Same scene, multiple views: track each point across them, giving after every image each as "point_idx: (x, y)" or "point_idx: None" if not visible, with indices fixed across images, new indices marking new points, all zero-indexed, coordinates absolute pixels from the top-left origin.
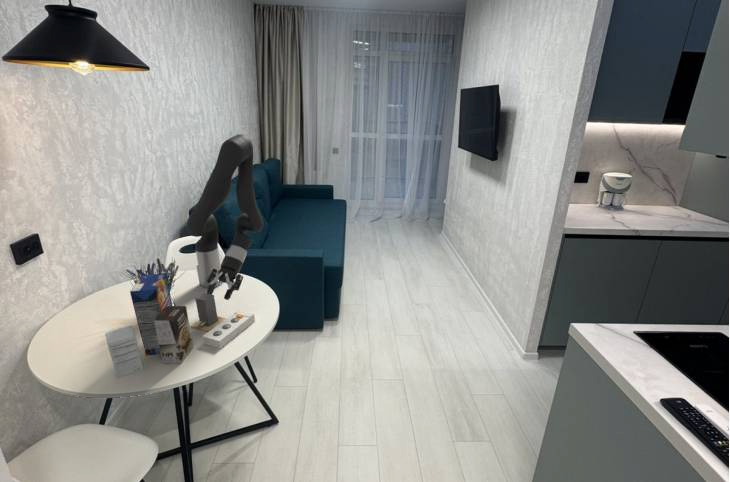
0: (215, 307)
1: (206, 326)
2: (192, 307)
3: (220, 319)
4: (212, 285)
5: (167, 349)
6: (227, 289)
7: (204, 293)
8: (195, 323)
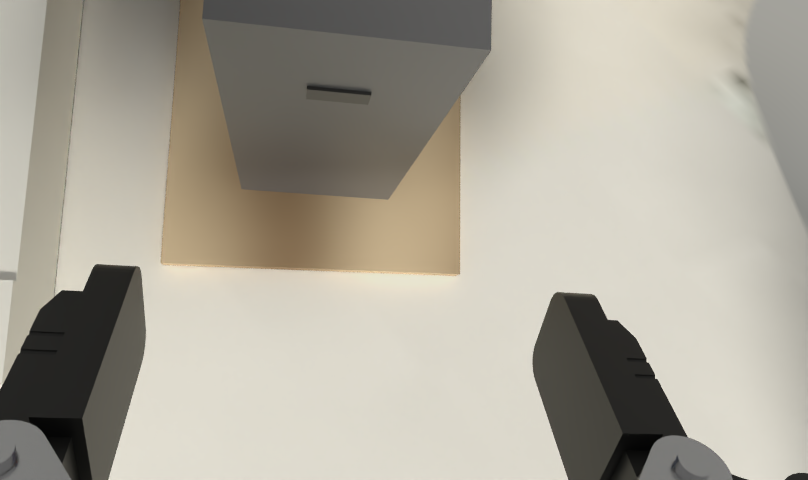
0: (228, 121)
1: None
2: (754, 348)
3: (228, 219)
4: (622, 459)
5: None
6: (78, 409)
7: (466, 18)
8: None
